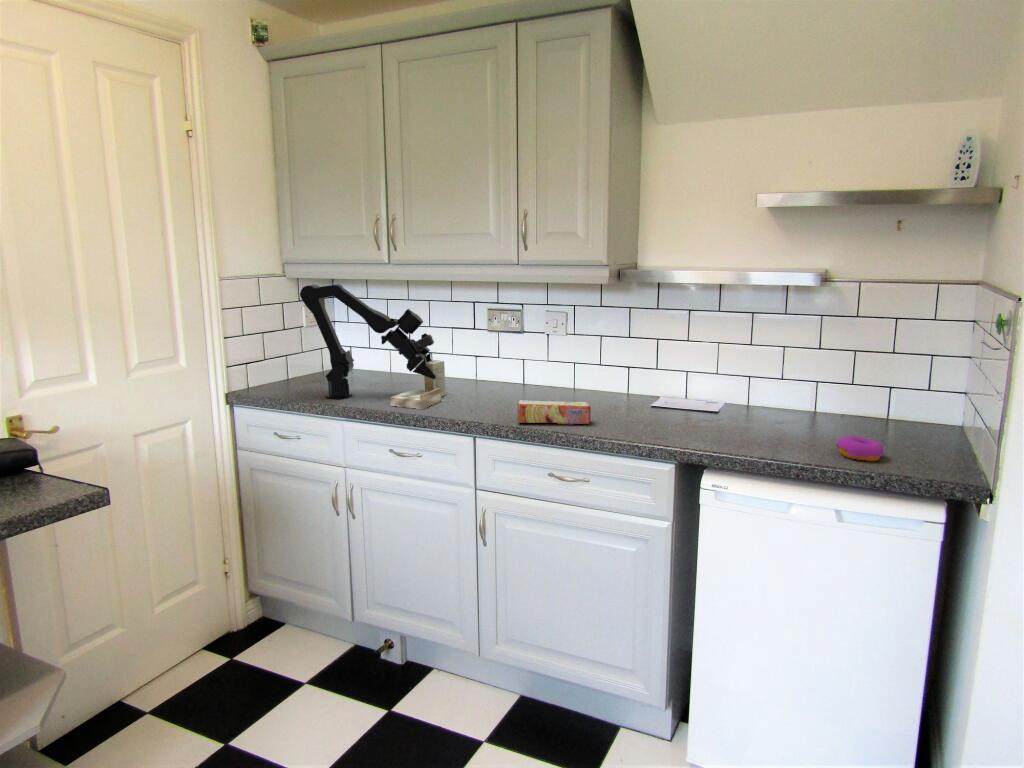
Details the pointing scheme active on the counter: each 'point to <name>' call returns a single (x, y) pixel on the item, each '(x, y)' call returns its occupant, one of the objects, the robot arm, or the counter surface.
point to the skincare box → (439, 372)
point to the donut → (860, 448)
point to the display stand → (416, 399)
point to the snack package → (553, 412)
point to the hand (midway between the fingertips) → (436, 375)
